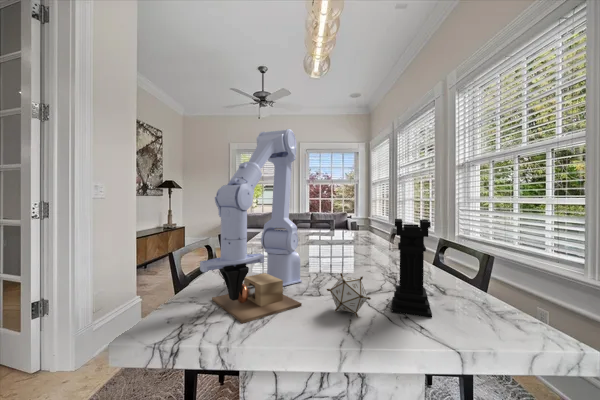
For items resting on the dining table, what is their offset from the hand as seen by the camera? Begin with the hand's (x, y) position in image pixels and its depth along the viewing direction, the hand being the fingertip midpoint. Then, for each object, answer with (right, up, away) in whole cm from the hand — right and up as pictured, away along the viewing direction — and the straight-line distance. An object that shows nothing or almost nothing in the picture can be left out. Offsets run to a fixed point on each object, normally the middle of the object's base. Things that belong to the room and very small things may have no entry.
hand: (233, 298), depth 63 cm
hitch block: (+4, -2, +3) cm, 6 cm away
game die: (+26, -3, -2) cm, 26 cm away
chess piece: (+40, -3, +1) cm, 40 cm away
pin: (+5, -1, +4) cm, 7 cm away
